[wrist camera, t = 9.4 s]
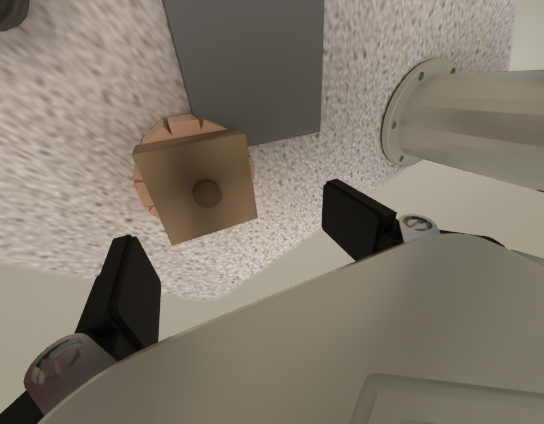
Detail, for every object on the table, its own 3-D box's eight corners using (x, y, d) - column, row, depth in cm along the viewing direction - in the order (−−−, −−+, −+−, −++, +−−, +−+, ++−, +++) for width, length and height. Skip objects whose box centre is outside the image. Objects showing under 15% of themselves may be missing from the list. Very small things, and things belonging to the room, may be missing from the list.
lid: (234, 127, 16) (248, 135, 13) (247, 205, 19) (260, 221, 17) (135, 145, 14) (131, 157, 11) (170, 228, 17) (172, 250, 15)
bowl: (230, 107, 19) (245, 111, 16) (245, 195, 23) (259, 212, 20) (119, 123, 16) (109, 133, 13) (160, 218, 21) (161, 242, 18)
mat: (317, -32, 17) (325, -37, 16) (314, 129, 23) (320, 131, 22) (150, -43, 13) (150, -51, 12) (202, 152, 20) (204, 155, 19)
